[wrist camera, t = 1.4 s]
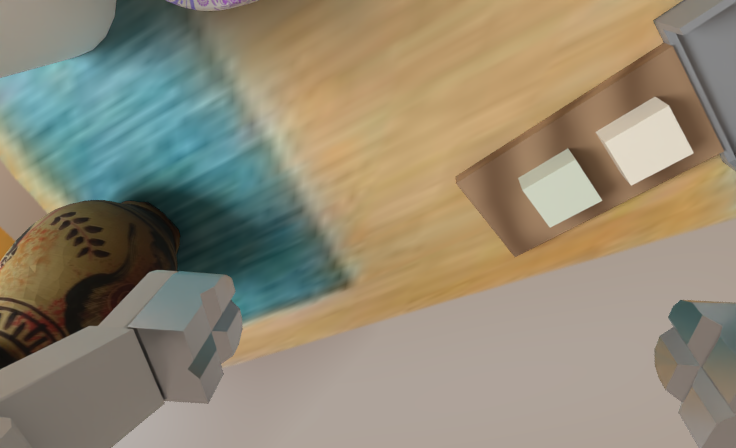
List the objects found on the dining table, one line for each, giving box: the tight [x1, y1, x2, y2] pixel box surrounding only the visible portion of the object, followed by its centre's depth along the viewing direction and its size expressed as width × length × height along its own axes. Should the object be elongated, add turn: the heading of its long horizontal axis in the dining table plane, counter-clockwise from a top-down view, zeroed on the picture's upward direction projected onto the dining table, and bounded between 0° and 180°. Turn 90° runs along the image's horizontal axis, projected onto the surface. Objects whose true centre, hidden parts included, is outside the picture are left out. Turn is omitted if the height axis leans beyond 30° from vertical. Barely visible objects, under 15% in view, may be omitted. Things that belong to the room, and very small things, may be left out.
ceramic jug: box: [0, 200, 180, 369], centre depth 41 cm, size 17×15×30 cm
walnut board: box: [456, 43, 724, 257], centre depth 39 cm, size 20×11×2 cm, turn 131°
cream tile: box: [596, 97, 694, 186], centre depth 36 cm, size 5×5×2 cm
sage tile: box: [518, 149, 602, 228], centre depth 39 cm, size 5×5×2 cm
